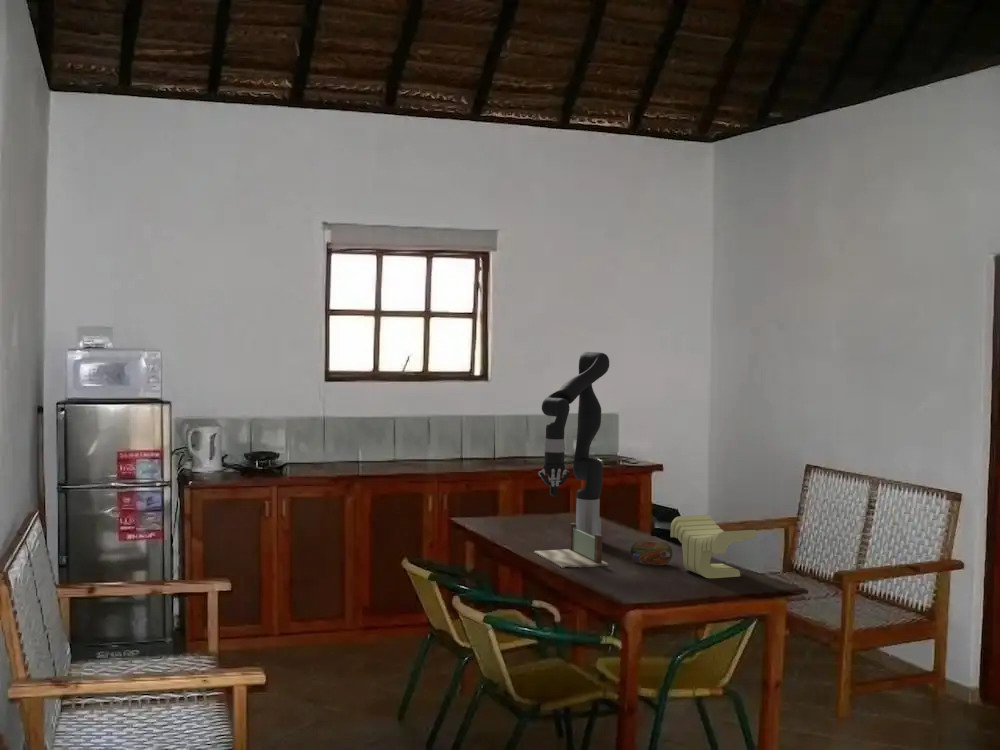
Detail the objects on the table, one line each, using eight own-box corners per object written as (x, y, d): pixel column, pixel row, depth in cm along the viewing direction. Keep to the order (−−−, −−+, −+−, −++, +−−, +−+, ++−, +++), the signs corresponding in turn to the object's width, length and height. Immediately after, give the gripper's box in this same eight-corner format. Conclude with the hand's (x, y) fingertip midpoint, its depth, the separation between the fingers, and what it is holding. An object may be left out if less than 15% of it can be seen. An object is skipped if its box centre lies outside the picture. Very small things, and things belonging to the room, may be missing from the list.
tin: (630, 562, 398) (630, 539, 398) (632, 561, 401) (632, 538, 400) (671, 566, 393) (671, 543, 392) (672, 565, 396) (673, 541, 395)
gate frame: (578, 550, 417) (578, 522, 417) (608, 565, 392) (608, 535, 391) (534, 553, 411) (534, 524, 411) (561, 568, 386) (562, 538, 385)
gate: (575, 549, 414) (576, 527, 413) (598, 560, 394) (598, 537, 394) (571, 549, 413) (572, 527, 413) (594, 560, 394) (594, 537, 393)
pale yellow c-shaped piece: (669, 565, 394) (670, 516, 393) (708, 563, 400) (709, 514, 399) (713, 584, 366) (715, 531, 365) (754, 581, 372) (756, 529, 371)
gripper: (567, 449, 420) (566, 494, 421) (534, 449, 416) (533, 495, 417) (574, 451, 413) (573, 497, 414) (541, 451, 409) (540, 498, 410)
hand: (553, 495), depth 415 cm, fingers closed
